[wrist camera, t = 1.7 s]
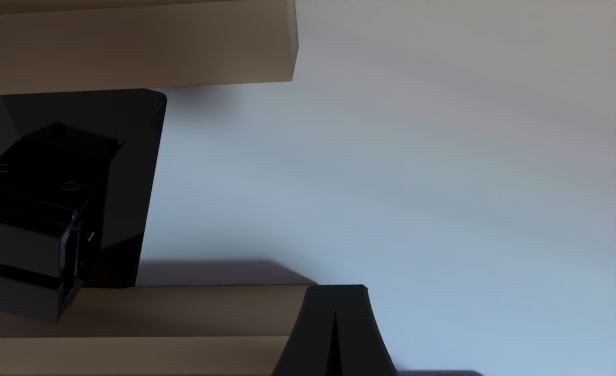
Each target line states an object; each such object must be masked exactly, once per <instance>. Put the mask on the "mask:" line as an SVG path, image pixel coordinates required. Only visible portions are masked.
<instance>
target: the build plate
mask: <svg viewBox="0 0 616 376" xmlns="http://www.w3.org/2000/svg"><path fill="white" fill-rule="evenodd" d="M166 105H167V97H166V95H165V94H163V93H161V92H157V91H153V90H149V89H145V88H135V89H114V90H93V91H71V92H50V93H28V94H7V95H0V312H5V313H9V314H13V315H17V316H21V317H25V318H29V319H34V320H38V321H42V322H46V323H50V324H54V325H55V324H57V322H58V321H59V319H60V317H61V316H62V314H63V312H64V311H65V309H68V308H70V306H71V304H72V302H73V301H74V299H75V297H76V296H77V294H78V292H79V290H80V289H81V288H109V289H123V288H129V287H135V282H136V277H137V271H138V265H139V260H140V254H141V248H142V242H143V237H144V231H145V225H146V219H147V214H148V208H149V202H150V197H151V191H152V185H153V179H154V174H155V168H156V162H157V157H158V151H159V145H160V139H161V134H162V128H163V122H164V116H165V111H166Z"/></svg>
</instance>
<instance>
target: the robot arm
mask: <svg viewBox="0 0 616 376" xmlns="http://www.w3.org/2000/svg"><path fill="white" fill-rule="evenodd" d="M271 376H399V375H398V373H397V371H396V369H395V367H394V365H393V363H392V360H391V358H390V356H389V353H388V351H387V349H386V347H385V344H384V342H383V340H382V337H381V334H380V332H379V329H378V326H377V323H376V321H375V318H374V315H373V311H372V308H371V304H370V300H369V295H368V288H367V287H365V286H364V285H363V284H360V285H310V286H309V287H308V288H307V289H306V292H305V296H304V299H303V303H302V306H301V309H300V312H299V315H298V317H297V320H296V322H295V325H294V327H293V330H292V332H291V335H290V337H289V339H288V341H287V343H286V346H285V348H284V350H283V352H282V354H281V357H280V359H279V361H278V363H277V365H276V366H275V368H274V370H273V372H272V374H271Z"/></svg>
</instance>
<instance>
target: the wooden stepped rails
mask: <svg viewBox="0 0 616 376" xmlns="http://www.w3.org/2000/svg"><path fill="white" fill-rule="evenodd" d="M298 48H299V46H298V34H297V21H296V9H295V0H0V95H7V94H28V93H50V92H71V91H93V90H114V89H135V88H157V87H178V86H200V85H221V84H243V83H264V82H286V81H292V77H293V72H294V67H295V63H296V58H297V53H298ZM309 286H310V285H250V286H181V287H129V288H123V289H109V288H81V289H80V290H79V292H78V294H77V296H76V297H75V299H74V301H73V302H72V304H71V306H70V308H68V309H65V311H64V312H63V314H62V316H61V317H60V319H59V321H58V322H57V324H55V325H54V324H50V323H46V322H42V321H38V320H34V319H29V318H25V317H21V316H17V315H13V314H9V313H5V312H0V376H271V374H272V372H273V370H274V368H275V366H276V365H277V363H278V361H279V359H280V357H281V354H282V352H283V350H284V348H285V346H286V343H287V341H288V339H289V337H290V335H291V332H292V330H293V327H294V325H295V322H296V320H297V317H298V315H299V312H300V309H301V306H302V303H303V299H304V296H305V292H306V289H307V288H308V287H309Z"/></svg>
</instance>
